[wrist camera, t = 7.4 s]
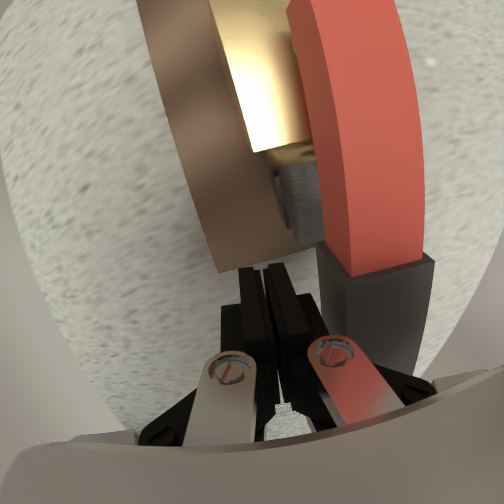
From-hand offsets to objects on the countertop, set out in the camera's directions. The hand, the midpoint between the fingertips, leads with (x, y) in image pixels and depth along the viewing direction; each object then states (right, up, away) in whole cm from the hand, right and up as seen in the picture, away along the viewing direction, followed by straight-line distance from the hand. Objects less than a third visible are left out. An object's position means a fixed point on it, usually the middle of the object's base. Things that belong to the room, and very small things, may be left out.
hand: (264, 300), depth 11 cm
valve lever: (+3, +4, 0) cm, 5 cm away
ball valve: (+1, +12, +4) cm, 12 cm away
